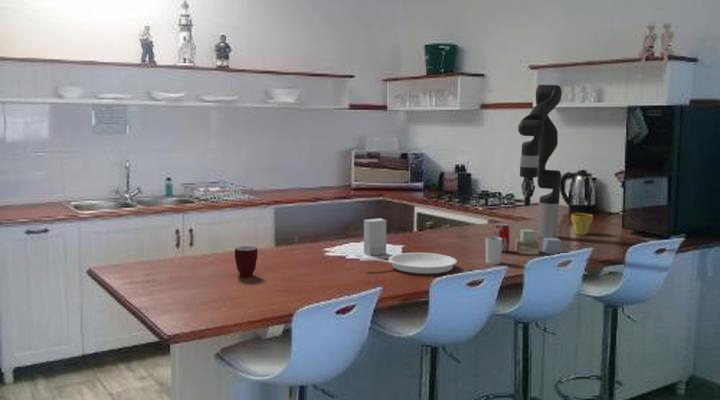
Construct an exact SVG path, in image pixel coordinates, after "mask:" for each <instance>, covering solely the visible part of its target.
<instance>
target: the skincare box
mask: <svg viewBox="0 0 720 400" xmlns="http://www.w3.org/2000/svg"><path fill="white" fill-rule="evenodd" d="M365 253H366V254H365ZM363 254H365V255H367V254H368V255H367V256H369V255H373V256H378V255H379V256H380V255H381V254H382V255H387V220H386V219H383V218H381V217H380V218H370V219H363Z"/></svg>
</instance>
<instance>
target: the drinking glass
mask: <svg viewBox="0 0 720 400" xmlns="http://www.w3.org/2000/svg"><path fill="white" fill-rule="evenodd" d="M501 250H502V238H500V237H493V236H486V237H485V263H486V264H489V263H490V264H489V265H499V264H501V260H502V252H501Z"/></svg>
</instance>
